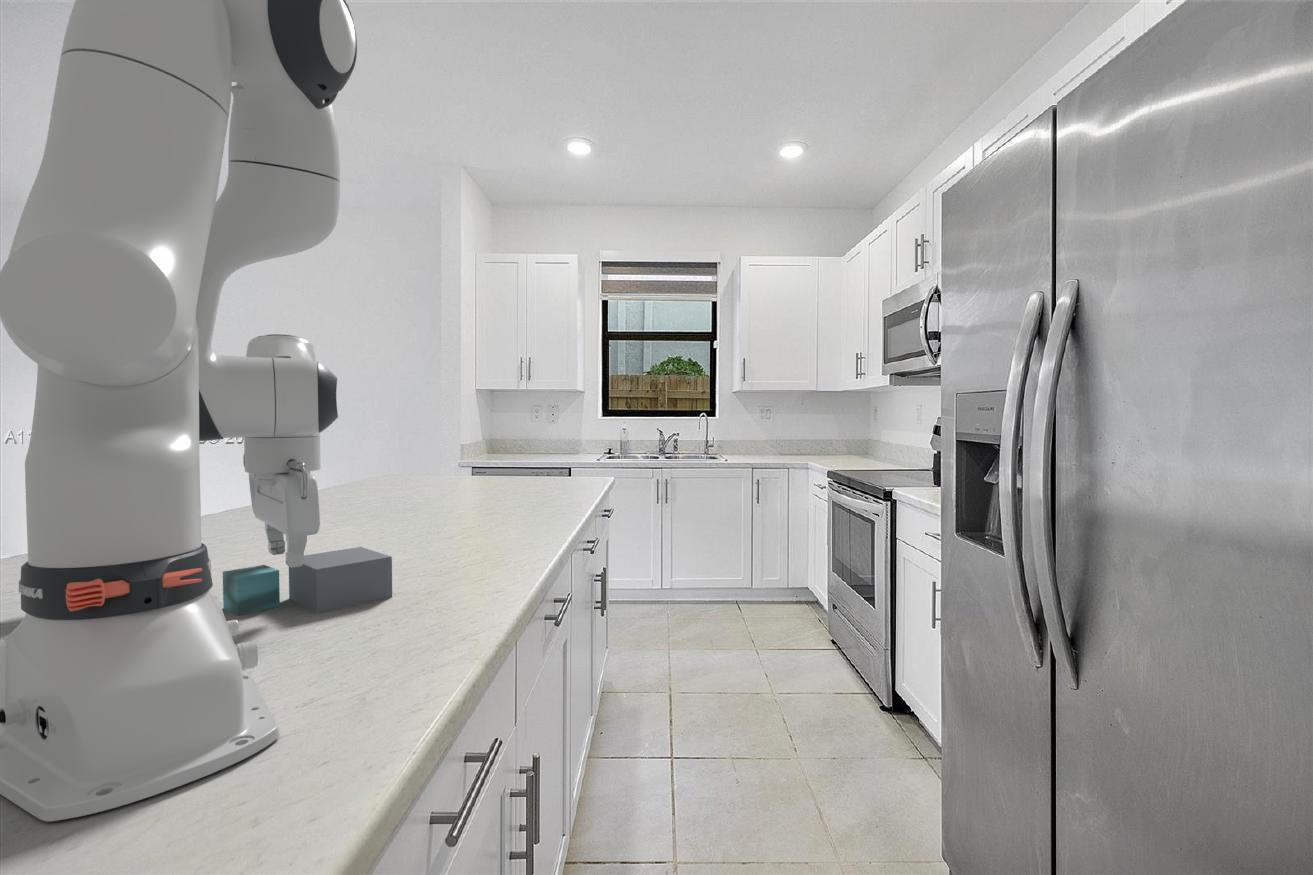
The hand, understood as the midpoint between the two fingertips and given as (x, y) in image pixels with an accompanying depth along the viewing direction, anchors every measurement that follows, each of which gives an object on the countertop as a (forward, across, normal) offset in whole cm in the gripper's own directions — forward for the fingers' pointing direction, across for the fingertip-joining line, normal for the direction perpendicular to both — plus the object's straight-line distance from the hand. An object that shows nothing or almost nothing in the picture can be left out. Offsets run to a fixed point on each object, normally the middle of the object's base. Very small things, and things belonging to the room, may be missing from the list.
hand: (285, 559), depth 86 cm
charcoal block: (+6, -2, -6) cm, 9 cm away
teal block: (+6, +2, +4) cm, 7 cm away
